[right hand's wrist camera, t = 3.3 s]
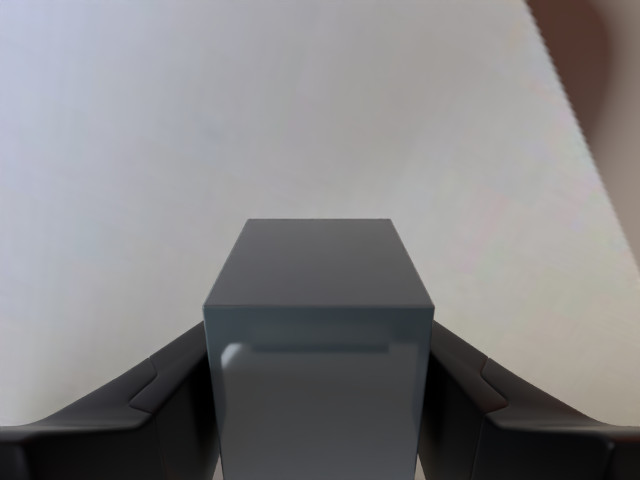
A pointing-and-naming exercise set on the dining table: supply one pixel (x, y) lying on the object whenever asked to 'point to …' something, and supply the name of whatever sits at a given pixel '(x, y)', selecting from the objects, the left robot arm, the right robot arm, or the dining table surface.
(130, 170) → the dining table surface
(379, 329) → the blue-grey cube
